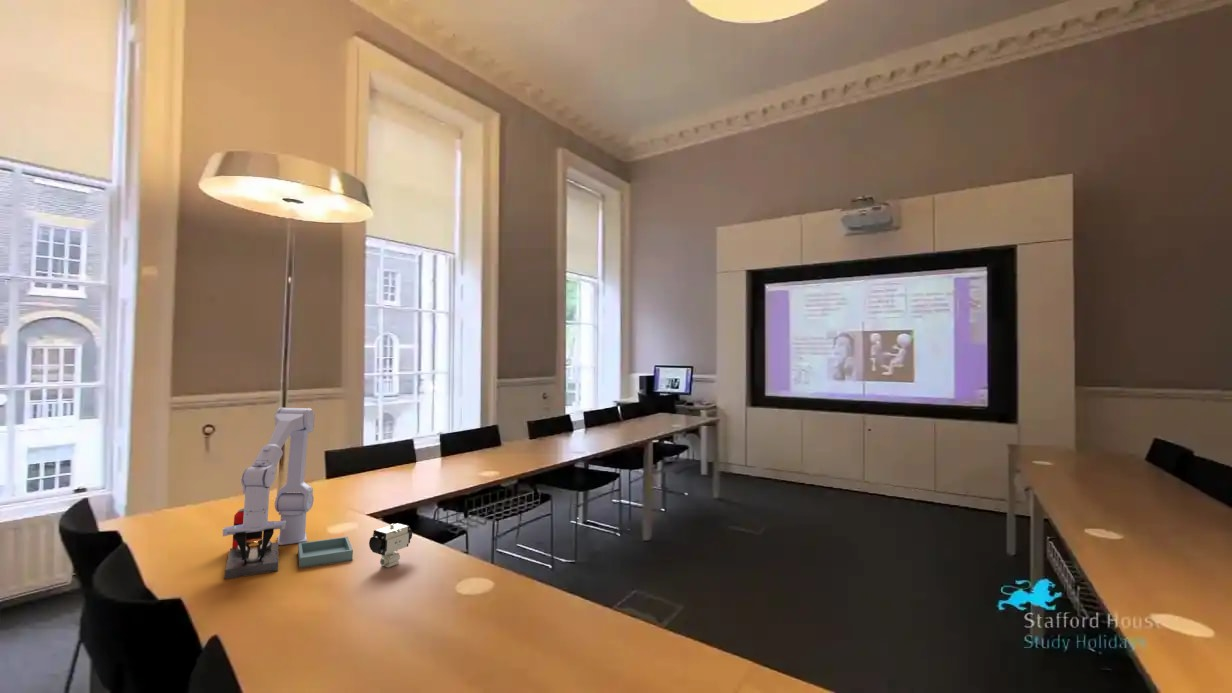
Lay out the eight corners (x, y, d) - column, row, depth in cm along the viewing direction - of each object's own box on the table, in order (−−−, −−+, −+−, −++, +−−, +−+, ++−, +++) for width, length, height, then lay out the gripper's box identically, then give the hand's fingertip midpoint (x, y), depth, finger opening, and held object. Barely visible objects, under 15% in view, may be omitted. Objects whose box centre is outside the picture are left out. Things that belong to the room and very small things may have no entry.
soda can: (225, 550, 158) (228, 511, 159) (248, 542, 166) (251, 505, 166) (245, 554, 157) (247, 514, 157) (267, 545, 164) (270, 507, 164)
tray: (297, 552, 159) (298, 543, 159) (347, 545, 166) (347, 536, 167) (299, 568, 148) (300, 557, 148) (352, 560, 155) (352, 550, 155)
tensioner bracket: (229, 556, 154) (230, 538, 154) (277, 550, 160) (278, 532, 161) (224, 579, 139) (226, 558, 139) (277, 570, 145) (279, 551, 146)
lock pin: (244, 568, 146) (246, 540, 146) (260, 566, 148) (262, 538, 148) (243, 573, 143) (245, 544, 143) (260, 571, 145) (262, 542, 145)
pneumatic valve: (367, 570, 149) (369, 528, 149) (400, 557, 159) (402, 518, 159) (379, 574, 146) (382, 531, 146) (413, 561, 156) (415, 521, 157)
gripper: (223, 516, 139) (219, 567, 138) (286, 509, 147) (283, 557, 146) (225, 509, 145) (221, 558, 144) (286, 503, 153) (283, 549, 152)
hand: (253, 557), depth 146 cm, fingers closed on lock pin, 4 cm apart
